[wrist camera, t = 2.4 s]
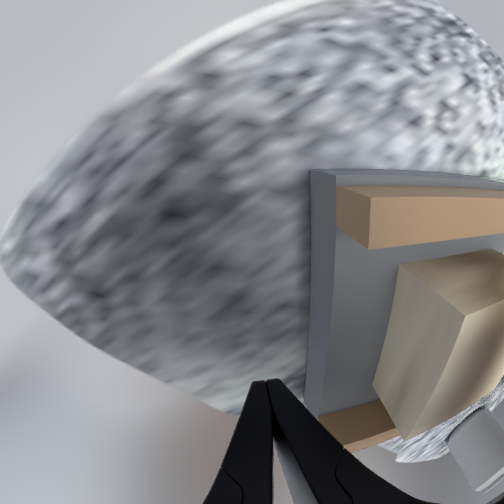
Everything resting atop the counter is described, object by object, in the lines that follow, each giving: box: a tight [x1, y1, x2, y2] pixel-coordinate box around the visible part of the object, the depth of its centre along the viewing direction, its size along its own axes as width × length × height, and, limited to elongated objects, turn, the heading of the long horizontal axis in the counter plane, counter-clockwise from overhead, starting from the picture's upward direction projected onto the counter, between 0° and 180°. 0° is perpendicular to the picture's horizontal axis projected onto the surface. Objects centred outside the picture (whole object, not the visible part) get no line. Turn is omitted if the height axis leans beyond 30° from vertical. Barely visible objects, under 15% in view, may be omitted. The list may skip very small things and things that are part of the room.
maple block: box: [372, 248, 504, 441], centre depth 8 cm, size 6×6×4 cm
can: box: [447, 409, 504, 494], centre depth 17 cm, size 8×8×12 cm
